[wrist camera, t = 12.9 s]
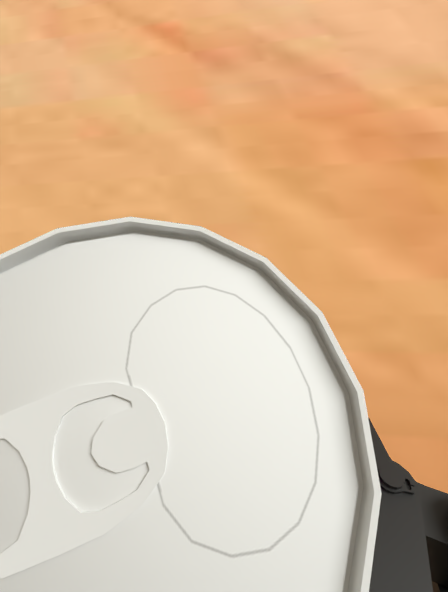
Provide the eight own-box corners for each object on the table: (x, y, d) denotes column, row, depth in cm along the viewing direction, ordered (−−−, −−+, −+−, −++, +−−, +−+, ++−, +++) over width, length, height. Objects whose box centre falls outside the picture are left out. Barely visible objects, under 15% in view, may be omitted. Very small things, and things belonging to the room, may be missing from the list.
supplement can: (232, 326, 20) (264, 136, 6) (285, 454, 17) (590, 701, 3) (114, 371, 19) (-216, 276, 5) (151, 515, 16) (-348, 1345, 2)
